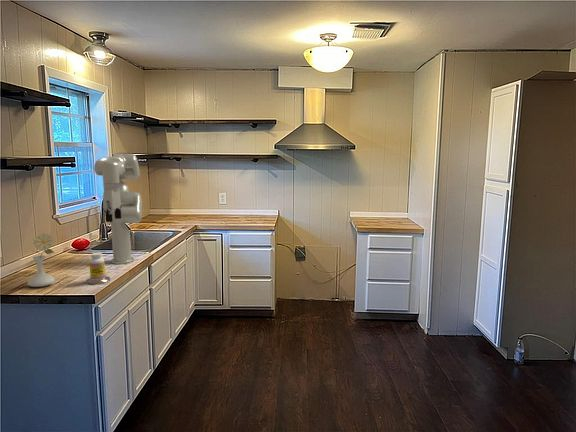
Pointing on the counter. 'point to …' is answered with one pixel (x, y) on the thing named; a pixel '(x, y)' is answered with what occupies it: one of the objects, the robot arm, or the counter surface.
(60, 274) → the counter surface
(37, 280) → the flower in vase
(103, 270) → the supplement bottle
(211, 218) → the counter surface
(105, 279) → the round coaster
